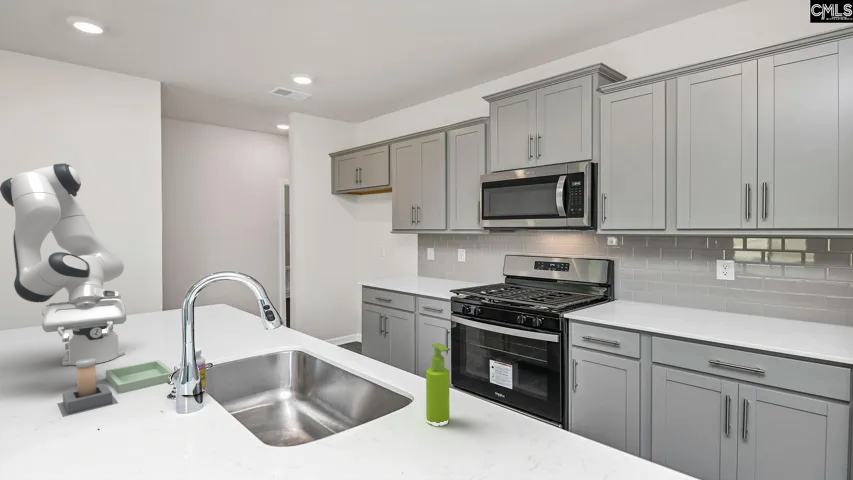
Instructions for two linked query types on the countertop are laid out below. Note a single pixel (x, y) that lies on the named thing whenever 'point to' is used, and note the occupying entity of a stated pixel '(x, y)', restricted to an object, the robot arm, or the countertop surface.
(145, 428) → the countertop surface
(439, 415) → the soap dispenser
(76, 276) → the robot arm
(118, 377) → the parts tray
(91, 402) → the socket block
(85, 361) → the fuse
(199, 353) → the supplement bottle
